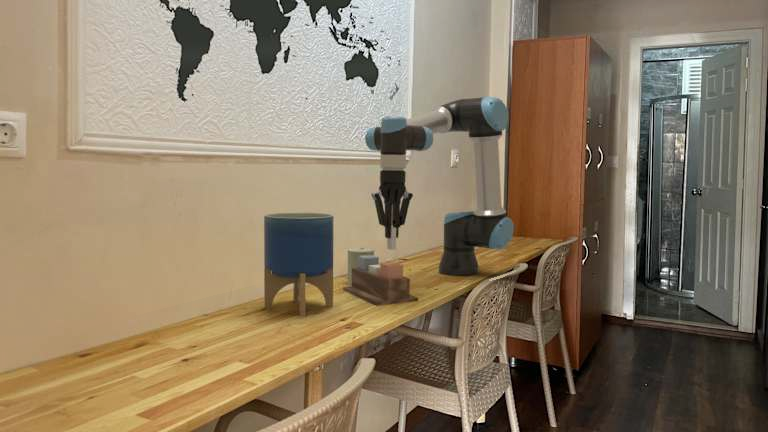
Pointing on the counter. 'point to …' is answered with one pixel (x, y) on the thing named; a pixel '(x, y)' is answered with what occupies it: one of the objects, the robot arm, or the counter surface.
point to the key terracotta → (391, 271)
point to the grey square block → (367, 262)
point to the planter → (298, 255)
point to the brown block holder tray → (379, 288)
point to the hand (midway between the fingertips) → (391, 249)
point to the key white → (374, 269)
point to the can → (356, 259)
